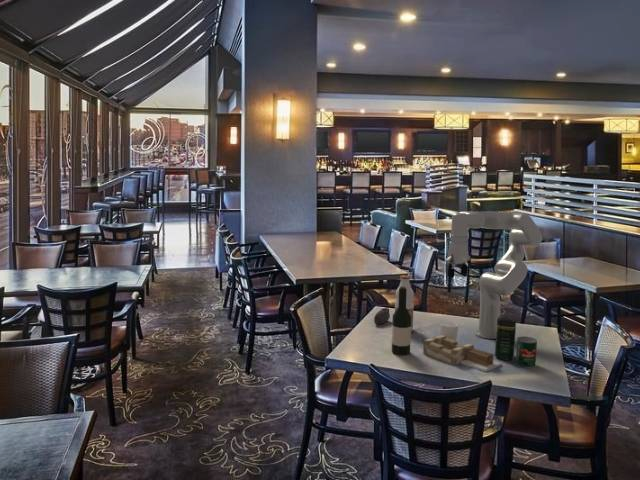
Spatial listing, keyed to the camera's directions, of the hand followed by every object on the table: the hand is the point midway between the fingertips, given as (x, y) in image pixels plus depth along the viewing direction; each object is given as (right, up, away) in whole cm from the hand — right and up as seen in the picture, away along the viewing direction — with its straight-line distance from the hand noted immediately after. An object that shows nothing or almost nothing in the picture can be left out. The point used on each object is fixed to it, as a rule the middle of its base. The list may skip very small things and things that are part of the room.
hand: (457, 275), depth 251 cm
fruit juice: (-22, -29, +23) cm, 43 cm away
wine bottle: (-28, -34, -10) cm, 45 cm away
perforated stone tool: (-32, -28, +35) cm, 55 cm away
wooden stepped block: (-8, -35, -14) cm, 38 cm away
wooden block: (+3, -35, -23) cm, 42 cm away
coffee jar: (+17, -35, -15) cm, 42 cm away
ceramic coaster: (+4, -36, -24) cm, 44 cm away
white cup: (-4, -33, 0) cm, 33 cm away
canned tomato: (+23, -36, -24) cm, 49 cm away
